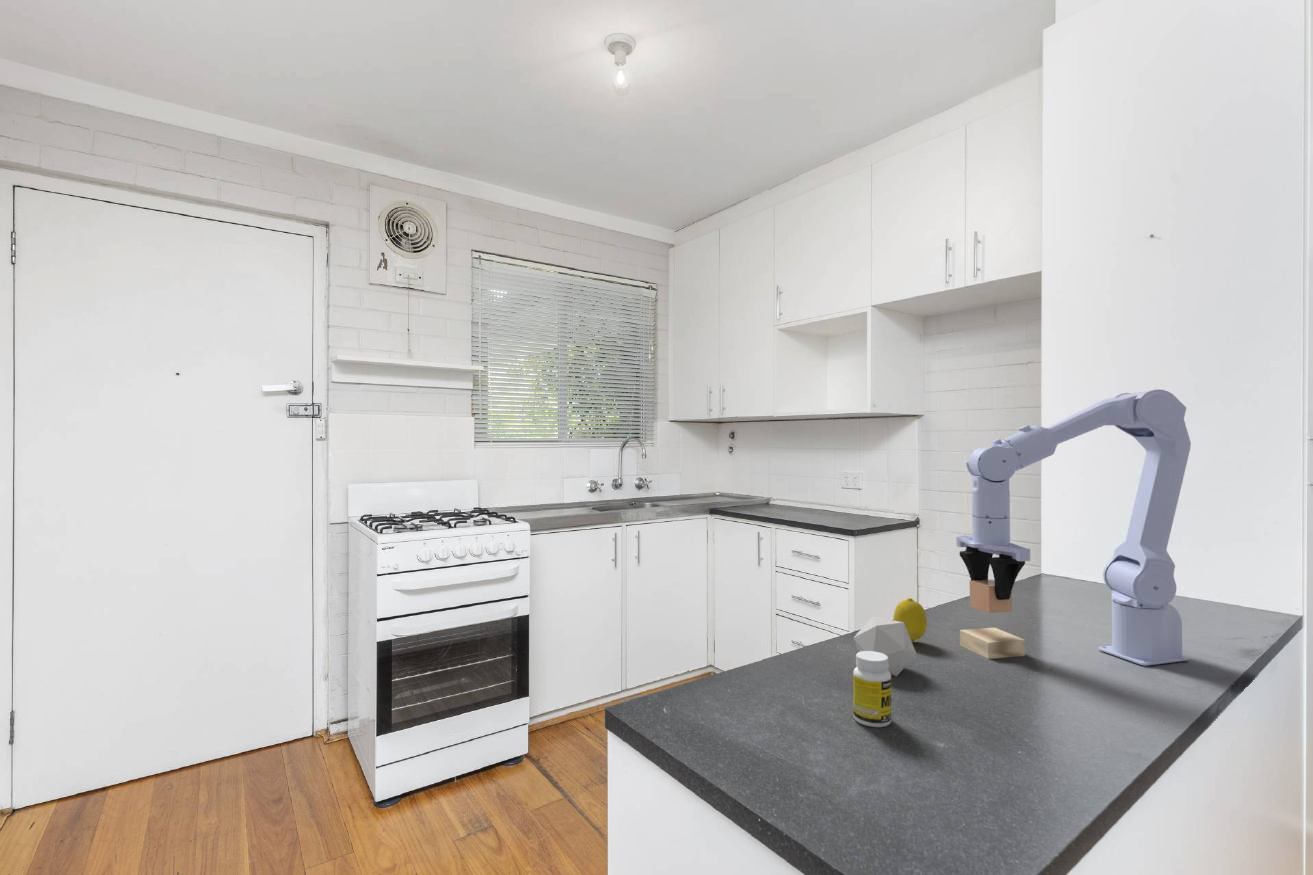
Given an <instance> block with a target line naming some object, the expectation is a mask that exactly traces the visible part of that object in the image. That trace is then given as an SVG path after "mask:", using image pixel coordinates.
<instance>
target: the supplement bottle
mask: <svg viewBox="0 0 1313 875" xmlns="http://www.w3.org/2000/svg"><path fill="white" fill-rule="evenodd" d="M855 665H856V667H855V668H854V669H853V671H852V677H853V678H852V680H853V681H852V682H853V685H852V686H853V687H852V688H853V693H852V694H853V701H852V702H853V703H852V704H853V705H852V707H853V708H852V709H853V710H852V711H853V713H852V714H853V715H852V716H853V718H854V720H855V721H856V722H857V723H859V724H861V725H863V726H867V727H871V728H884V727H887V726H889V725H891V723H892V675H891V674H890V672H889V671H888V667H889V664H888V657H887V656H886V655H885V654H883V653H879V652H874V651H861V652H859V651H858V652H857V653H856V655H855Z"/></svg>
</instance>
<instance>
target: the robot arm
mask: <svg viewBox="0 0 1313 875" xmlns="http://www.w3.org/2000/svg"><path fill="white" fill-rule="evenodd" d="M1186 411H1187V407H1186V405H1184V403H1182V401H1181V400H1179V398H1177V396H1175V394H1174V393H1171V392H1170V391H1168V390H1164V389H1157V388H1156V389H1152V390H1151V389H1150V390H1148V391H1140V392H1139V391H1138V392H1132V393H1131V392H1124V393H1120V394H1117V395H1116V396H1114V397H1109V398H1105V399H1103V400H1101V401H1097V402H1096V403H1093V404H1091V405H1089V406H1088V407H1085V408H1083V409H1081V410H1080V411H1077V412H1076V413H1073V414H1071V415H1069V416H1067V417H1065V418H1063V419H1062V420H1060V421H1057V422H1055V423H1053V424H1052V425H1049V426H1047V427H1045V426H1040V425H1037V424H1036V425H1035V424H1034V425H1032V426H1030V425H1028V424H1027V425H1025V424H1024V425H1023V426H1021V427H1018V430H1019V431H1018V432H1016V433H1014V434H1012V435H1010V436H1008V437H1006V438H1003V439H1000V438H996V439H994V440H992V443H993V444H992V446H990V447H989V446H981V447H979V448H977V449H975V450H974V451H973V452H972V454H970V455H969V458H968V461H967V462H966V463H965V464H966V468H967V471H968V473H969V474H970V475H971V477H972V490H971V494H972V495H971V498H972V500H971V504H972V505H971V506H972V508H971V510H972V511H971V513H972V515H971V516H972V518H971V519H972V520H971V521H972V524H971V526H972V532H971V533H972V534H971V536H970V535H965V534H964V535H956V547H957V548H965V549H964V550H960V551H959V557H960V558H961V559H962V562H963V563H964V564H965V567H966V569H967V572H968V574H969V579H970V581H977V580H989V571H990V568H991V570H992V575H993V580H994V581H995V594H996V598H997V599H998V600H1007V599H1010V595H1011V592H1012V591H1013V587H1014V585H1015V583H1016V582H1015V581H1016V579H1017V577H1018V575H1019V573H1020V572H1021V570H1022V568H1024V566H1025V565H1026V562H1030V561H1031V548H1028V547H1023V546H1021V545H1017V544H1015V543H1013V542H1011V506H1010V505H1011V503H1010V502H1011V499H1010V498H1011V497H1010V496H1011V494H1010V479H1011V478H1012V477H1013V476H1014V475H1015V473H1016V471H1020V470H1022V469H1024V468H1027V467H1029V466H1031V465H1033V464H1035V463H1038V462H1040V461H1042V460H1044V459H1047V458H1049V457H1051V456H1053V455H1054V454H1055V452H1056V450H1057V446H1058V445H1059V444H1062V443H1064V442H1067V441H1069V440H1072V439H1075V438H1076V437H1078V436H1082V435H1084V434H1086V433H1090V432H1092V431H1095V430H1097V429H1099V428H1101V427H1104V426H1114V427H1116V428H1117V429H1119V430H1121V431H1122V432H1124V433H1125V434H1128V435H1130V436H1131V437H1133V438H1134V439H1135V440H1136V441H1137V442H1138V443H1139V444H1140V446H1141V447H1142V448H1143V449H1144V450H1145V451H1146V453H1145V455H1144V456H1145V457H1144V460H1143V465H1142V469H1141V473H1140V478H1139V483H1138V486H1137V491H1136V495H1135V499H1134V504H1133V508H1132V513H1131V516H1130V521H1129V525H1128V529H1127V534H1126V538H1125V540H1124V542H1122V543H1121V544H1119V545H1118V546H1117V547H1116V548H1115V549H1114V552H1113V556H1112V558H1111V559H1110V561H1109V562H1108V563H1107V564H1106V565H1105V567H1104V569H1103V573H1102V577H1103V582H1104V583H1105V586H1107V588H1109V590H1111V645H1105V646H1098V650H1099V651H1100V652H1101V651H1102V652H1104V653H1106V654H1110V655H1112V656H1114V657H1117V658H1121V659H1123V660H1126V661H1129V662H1132V663H1134V664H1137V665H1141V666H1152V665H1161V664H1169V663H1170V664H1171V663H1177V662H1185V661H1189V658H1188V656H1185V655H1183V621H1182V616H1181V614H1180V613H1179V611H1178V609H1177V608H1175V606H1173V605H1172V604H1170V603H1171V602H1172V601H1173V599H1174V598H1175V596H1176V594H1177V583H1176V580H1175V576H1174V574H1175V569H1176V564H1175V562H1174V560H1173V559H1172V558H1171V556H1170V554H1169V553H1168V550H1167V549H1168V545H1169V540H1170V537H1171V532H1172V526H1173V523H1174V518H1175V515H1176V512H1177V506H1178V502H1179V498H1180V493H1181V489H1182V485H1183V481H1184V477H1185V472H1186V468H1187V465H1188V460H1189V456H1190V452H1191V448H1192V447H1191V439H1190V436H1189V435H1190V434H1189V432H1188V428H1187V426H1186V422H1185V415H1186ZM994 555H997V556H996V557H994Z"/></svg>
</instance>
